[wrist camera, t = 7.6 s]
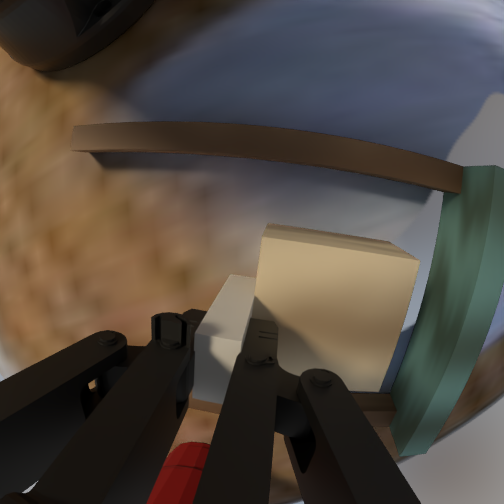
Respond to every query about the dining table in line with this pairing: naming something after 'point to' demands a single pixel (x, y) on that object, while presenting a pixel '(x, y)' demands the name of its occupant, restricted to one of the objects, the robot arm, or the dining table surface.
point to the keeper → (334, 301)
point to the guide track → (442, 268)
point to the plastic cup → (180, 475)
